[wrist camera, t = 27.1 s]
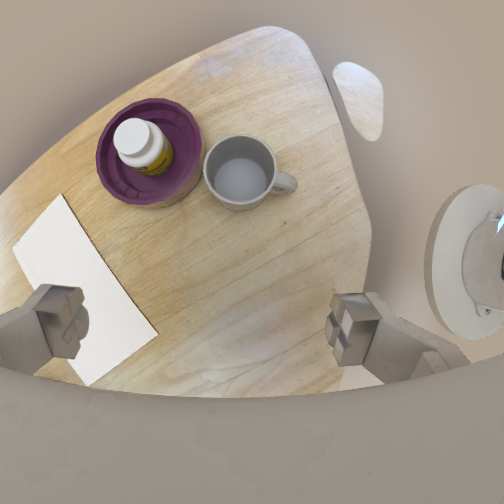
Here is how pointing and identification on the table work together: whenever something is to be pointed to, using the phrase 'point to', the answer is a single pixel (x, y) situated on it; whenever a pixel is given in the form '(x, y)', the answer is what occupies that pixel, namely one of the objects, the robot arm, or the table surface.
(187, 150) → the bowl
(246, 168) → the cup
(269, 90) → the table surface
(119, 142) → the supplement bottle
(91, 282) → the paper
